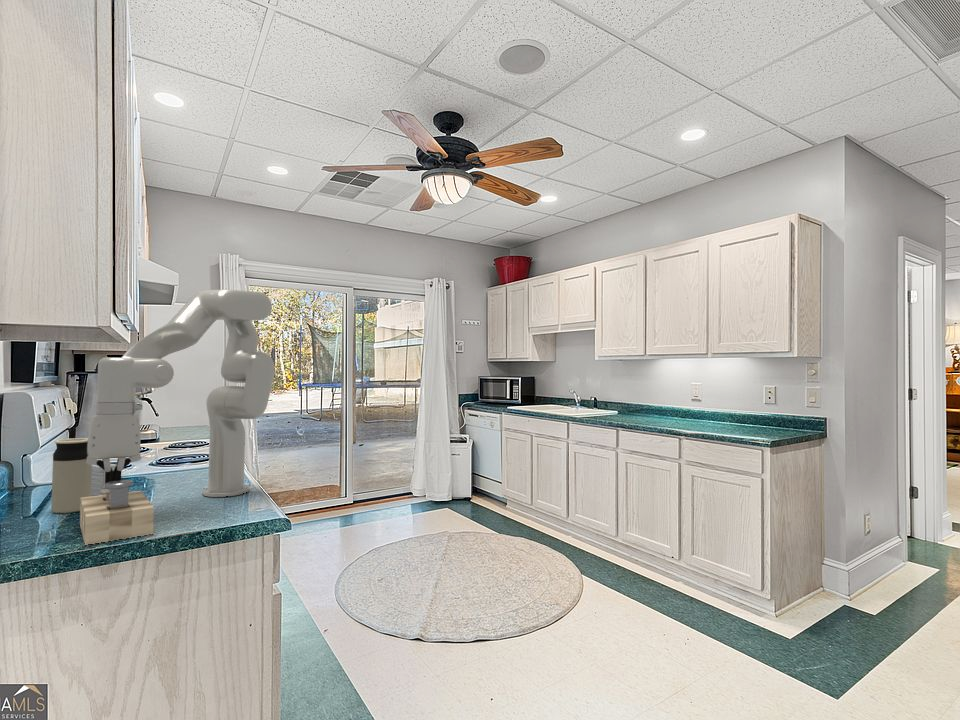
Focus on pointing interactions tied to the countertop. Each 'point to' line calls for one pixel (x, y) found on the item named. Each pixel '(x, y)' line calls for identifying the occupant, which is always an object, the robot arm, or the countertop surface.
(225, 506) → the countertop surface
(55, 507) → the travel mug
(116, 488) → the grey piece
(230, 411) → the robot arm
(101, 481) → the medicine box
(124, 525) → the oak block
